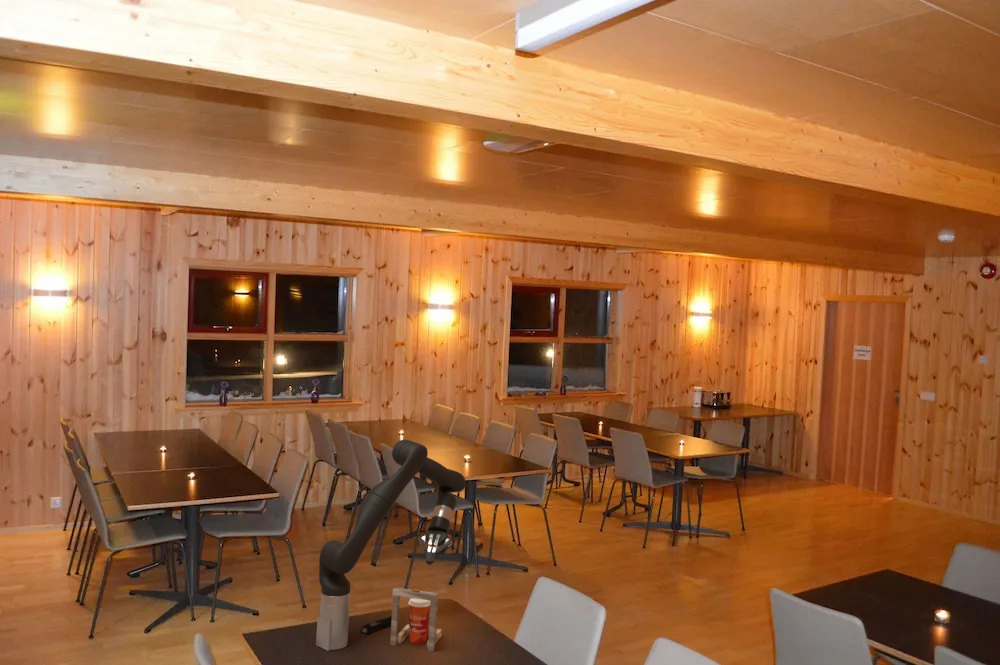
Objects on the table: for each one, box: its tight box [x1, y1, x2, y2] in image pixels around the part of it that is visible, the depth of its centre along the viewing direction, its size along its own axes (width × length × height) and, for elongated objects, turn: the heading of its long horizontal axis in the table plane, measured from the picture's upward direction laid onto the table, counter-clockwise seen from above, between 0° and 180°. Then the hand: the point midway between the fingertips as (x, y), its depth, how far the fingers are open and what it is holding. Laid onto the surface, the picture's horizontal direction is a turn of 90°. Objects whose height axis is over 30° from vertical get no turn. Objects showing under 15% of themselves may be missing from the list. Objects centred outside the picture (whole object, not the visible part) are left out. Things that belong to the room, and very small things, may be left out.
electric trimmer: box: [359, 615, 392, 636], centre depth 272 cm, size 4×16×3 cm, turn 142°
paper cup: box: [407, 598, 431, 645], centre depth 263 cm, size 8×8×14 cm
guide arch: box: [389, 587, 443, 652], centre depth 263 cm, size 13×15×19 cm
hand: (428, 563), depth 279 cm, fingers closed
